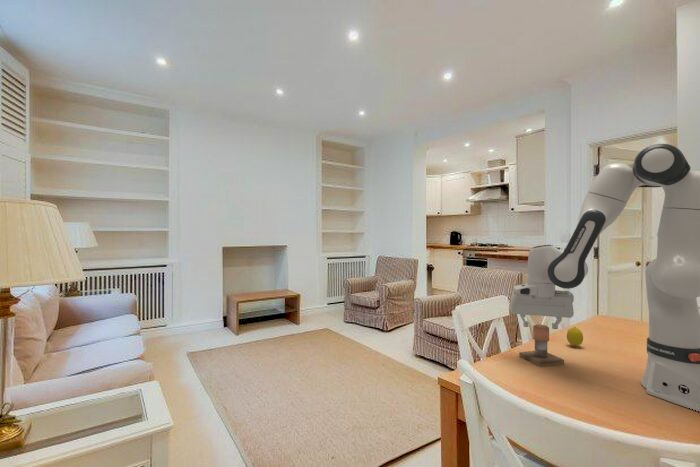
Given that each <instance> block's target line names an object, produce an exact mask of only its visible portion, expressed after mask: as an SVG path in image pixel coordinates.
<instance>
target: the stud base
mask: <svg viewBox="0 0 700 467" xmlns="http://www.w3.org/2000/svg"><path fill="white" fill-rule="evenodd" d="M518 354H519V355H518V356H519V357H520V358H522V359H524V360H525V361H528V362H530V363H532V364H534V365H536V366H538V367H540V368H542V367H550V366H551V367H552V366H558V365H559V366H560V365H564V364H565V359H563V358H561V357H559V356H557V355H554V354H552V353H549V352H548V342H541V341H537V340H534V350H530V351H529V350H528V351H520V352H518Z"/></svg>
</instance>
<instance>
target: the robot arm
mask: <svg viewBox="0 0 700 467" xmlns="http://www.w3.org/2000/svg"><path fill="white" fill-rule="evenodd" d="M637 188H662V189H663V191H664V198H663V204H662V209H661V214H660V218H659V225H658V230H657V235H656V236H657V250H656V251H657V252H656V258H654V259H653V260H651V261H650V262H649V263H648V264H647V266H646V268H645V285H646V288H645V289H646V298H647V306H648V337H647V338H646V352H647V360H646V361H647V362H646V366H645V367H646V368H645V371H644V374H643V377H642V380H641V385H642V387H643V388H645V391H646V393H647V394H648V395H651V396H653V397H656V398H659V399H662V400H665V401H667V402H669V403H673V404H676V405H679V406H681V407H685V408H687V409H689V408H690V409H689V410H692V409H693V410H692V411H695V410H696V412H698V411H699V412H698V413H700V311H699V310H700V309H699V305H698V300H697V298H699V297H700V170H691V166H690V163H689V162H688V161H687V159H686V157H685V154H684V153H683V151H681V150H680V149H679V148H678V147H676V146H675V145H673V144H668V143H656V144H652V145H649V146H647V147H645V148H644V149H642V150H641V151H640V152H638V153H637V155H636V156H635V158H634V161H633V162H632V163H628V164H627V163H619V162H618V163H617V162H615V163H610V164H609V163H608V164H607V165H605V166H603V168H602V169H601V170H600V171H599V172H598V174H597V176H596V177H595V178H594V180H593V181H592V183H591V185H590V187H589V188H588V191H587V193H586V194H585V197H584V199H583V203H582V205H581V209H580V212H579V217H578V220H577V224H576V227H575V229H574V231H573V233H572V235H571V237H570V239H569V241H568V243H567V244H566V247H565V248H564V250H561V249H559V248H557V247H556V246H554V245H553V244H544V245H543V244H542V245H536V246H533V247H531V249H529V252H528V256H527V272H528V276H527V282H526V283H523V284H518V285H514V286H513V288H512V289H513V293H512V294H511V296H510V301H509V311H510V312H511V313H512V314H513V315H519V316H520V318H521V321H522V322H523V323H522V325H523V327H525V328H529V325H530V323H529V321H528V320H526V319H525V318H526V315H527V316H540V317H541V316H542V317H553V318H555V319H556V320H555V322H552V323H551V329H552V330H559V325H560V323H561V322H562V321H563V320H562V319H563V318H568V319H570V318H573V317H574V305H573V303H574V300H575V296H574V294H573V292H570V291H569V290H559V289H557V290H556V287H559V288H560V289H561V288H562V289H575V288H577V287H578V286H580V285H581V284H582V283H583V281H584V279H585V278H586V276H587V274H588V272H589V267H588V264H587V262H586V261H587V258H588V256H589V254H590V252H591V251H592V249H593V246H594V245H595V243H596V241H597V240H598V238H599V237H600V235H601V234H602V233H603V231H605V230H606V229H607V228H609V226H611V225H612V224H613V223H614V222H615V221H616V220H617V219H618V218H619V216H620V215H621V214H622V212H623V211H624V210H625V207H626V206H627V204H628V202H629V200H630V198H631V196H632V194H633V193H634V192H635V191H636V189H637Z"/></svg>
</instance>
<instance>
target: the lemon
mask: <svg viewBox="0 0 700 467" xmlns="http://www.w3.org/2000/svg"><path fill="white" fill-rule="evenodd" d="M566 339H567V340H566V341H567V342H568V343H569V344H570V345H572V346H573V347H574V348H576V347H577V346H581V345H582V343H583V341H584V334H583V332H582V331H581V330H580V329H579V328H577V327H576V326H573V327H571V328H569V329H568V330H567V332H566Z"/></svg>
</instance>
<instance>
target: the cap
mask: <svg viewBox="0 0 700 467" xmlns="http://www.w3.org/2000/svg"><path fill="white" fill-rule="evenodd" d="M532 329H533V330H532V331H533V333H532V334H533V335H532V336H533V337H532V338H533V339H532V340H534V341H535V340H537V341H541V342H547V343H548V342H549V341H550V326H548V325H545V324H535V325H533V328H532Z"/></svg>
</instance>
